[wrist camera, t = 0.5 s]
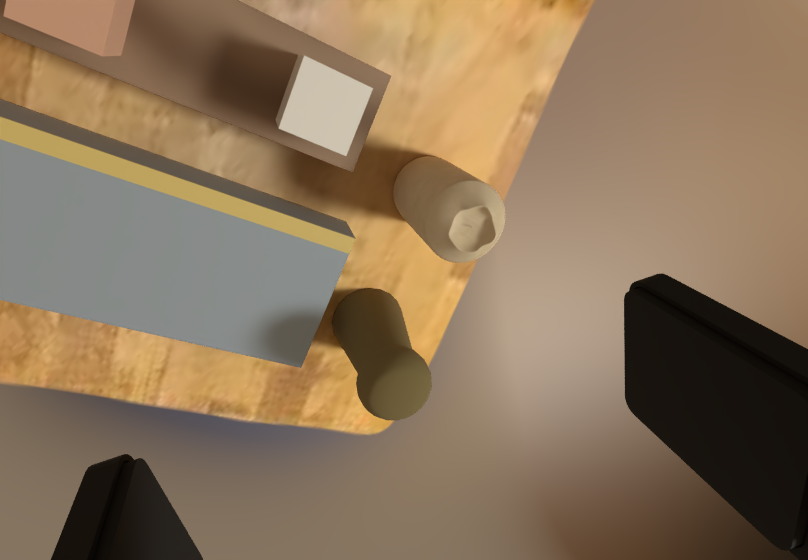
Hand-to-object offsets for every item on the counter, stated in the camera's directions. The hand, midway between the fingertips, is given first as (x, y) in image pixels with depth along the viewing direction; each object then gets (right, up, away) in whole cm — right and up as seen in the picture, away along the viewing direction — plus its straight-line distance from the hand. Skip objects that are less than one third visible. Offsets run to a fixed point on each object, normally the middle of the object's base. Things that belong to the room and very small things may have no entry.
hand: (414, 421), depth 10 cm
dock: (-17, +6, +27) cm, 32 cm away
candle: (+1, +10, +31) cm, 32 cm away
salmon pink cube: (-17, +17, +17) cm, 29 cm away
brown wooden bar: (-12, +17, +23) cm, 32 cm away
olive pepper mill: (-3, -1, +34) cm, 34 cm away
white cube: (-6, +14, +22) cm, 26 cm away
